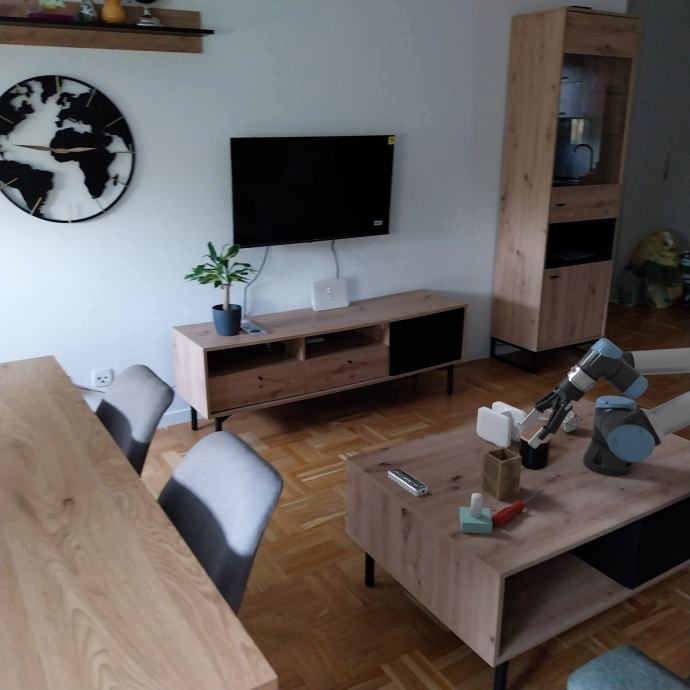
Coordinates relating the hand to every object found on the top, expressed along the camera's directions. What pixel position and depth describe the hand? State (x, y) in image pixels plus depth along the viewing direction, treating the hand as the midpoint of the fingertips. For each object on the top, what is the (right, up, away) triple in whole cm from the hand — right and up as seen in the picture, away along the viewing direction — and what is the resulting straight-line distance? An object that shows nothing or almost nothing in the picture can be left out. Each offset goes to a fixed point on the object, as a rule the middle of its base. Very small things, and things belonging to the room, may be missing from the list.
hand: (527, 435), depth 213 cm
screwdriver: (-5, -20, -11) cm, 23 cm away
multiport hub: (-36, -16, +2) cm, 39 cm away
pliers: (+23, -1, +50) cm, 55 cm away
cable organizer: (-1, -6, +33) cm, 33 cm away
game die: (+25, -4, +40) cm, 47 cm away
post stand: (-19, -22, -19) cm, 35 cm away
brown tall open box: (-9, -16, -1) cm, 18 cm away
